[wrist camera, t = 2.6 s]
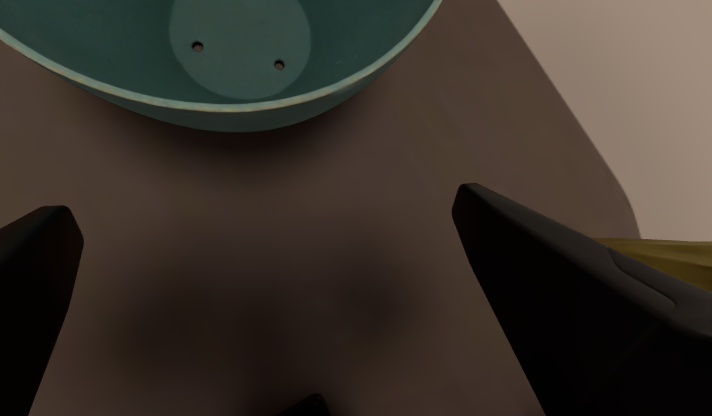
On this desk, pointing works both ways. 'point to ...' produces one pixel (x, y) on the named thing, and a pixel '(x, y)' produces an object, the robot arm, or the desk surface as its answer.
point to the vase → (670, 257)
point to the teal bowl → (216, 53)
